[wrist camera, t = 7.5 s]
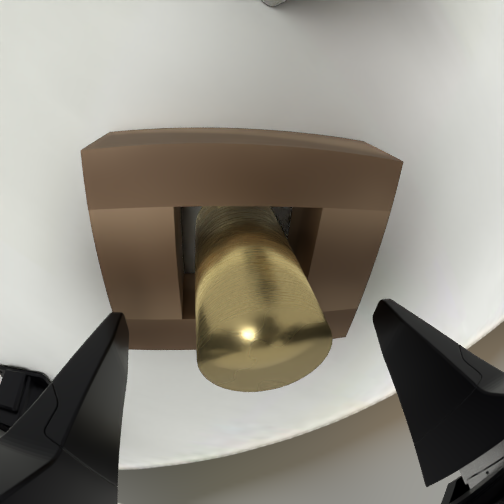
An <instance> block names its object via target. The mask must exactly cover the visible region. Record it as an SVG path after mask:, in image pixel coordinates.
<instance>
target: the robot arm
mask: <svg viewBox="0 0 504 504" xmlns="http://www.w3.org/2000/svg"><path fill="white" fill-rule="evenodd" d="M373 323H374V327H375V330H376V333H377V337H378V340H379V344H380V347H381V351H382V354H383V357H384V360H385V362H386V365H387V367H388V370H389V373H390V375H391V378H392V381H393V383H394V386H395V389H396V392H397V394H398V397H399V400H400V403H401V406H402V409H403V412H404V415H405V417H406V420H407V424H408V426H409V430H410V433H411V436H412V439H413V442H414V446H415V449H416V453H417V456H418V460H419V463H420V467H421V470H422V474H423V478H424V482H425V485H426V487H428V486H430V485H432V484H434V483H436V482H438V481H440V480H442V479H444V478H445V477H447V476H449V475H451V474H453V473H454V472H456V471H458V470H459V471H460V473H461V476H460V477H458V478H457V479H456V480H454V481H452V482H451V483H449V484H448V486H447V489H446V492H445V495H444V497H443V500H442V503H441V504H504V372H502V371H501V370H499V369H497V368H496V367H494V366H492V365H490V364H489V363H487V362H485V361H484V360H482V359H480V358H479V357H477V356H475V355H474V354H472V353H471V352H469V351H468V350H466V349H465V348H464V347H462V346H461V345H458V343H456V342H455V341H453V340H452V339H450V338H449V337H447V336H446V335H444V334H443V333H441V332H440V331H439V330H437V329H436V328H434V327H433V326H431V325H430V324H428V323H427V322H425V321H423V320H422V319H420V318H419V317H417V316H416V315H414V314H413V313H411V312H410V311H408V310H407V309H405V308H404V307H402V306H401V305H399V304H397V303H396V302H394V301H393V300H391V299H382V300H380V301H379V303H378V305H377V307H376V310H375V312H374V314H373ZM128 349H129V329H128V326H127V322H126V319H125V315H124V314H123V313H122V312H112V313H110V314H109V315H108V316H107V317H106V319H105V320H104V321H103V322H102V323H101V324H100V325H99V326H98V328H97V329H96V330H95V331H94V332H93V333H92V334H91V336H90V337H89V338H88V339H87V340H86V341H85V342H84V344H83V345H82V346H81V347H80V348H79V349H78V351H77V352H76V353H75V354H74V355H73V356H72V358H71V359H70V360H69V361H68V362H67V364H66V365H65V366H64V367H63V368H62V370H61V371H60V372H59V373H58V375H57V376H56V377H55V378H54V379H53V381H52V383H50V382H49V380H48V379H47V378H46V376H44V375H43V374H40V373H34V372H29V371H23V370H18V369H14V368H9V367H4V366H0V375H1V376H2V377H3V378H2V381H1V384H0V504H117V491H118V489H117V488H118V487H117V486H118V464H119V448H120V436H121V425H122V416H123V407H124V399H125V391H126V384H127V374H128Z"/></svg>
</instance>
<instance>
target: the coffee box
mask: <svg viewBox="0 0 504 504" xmlns="http://www.w3.org/2000/svg"><path fill="white" fill-rule="evenodd" d="M262 1H263V2H264V3H265V4H267V5H269V6H276V5H279V4H280V3H282V2H284V1H286V0H262Z"/></svg>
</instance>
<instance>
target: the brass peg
mask: <svg viewBox="0 0 504 504" xmlns="http://www.w3.org/2000/svg"><path fill="white" fill-rule="evenodd" d="M195 313H196V347H197V363H198V367H199V369H200V372H201V373H202V374H203V376H204V377H205V378H206V379H208V380H209V381H210V382H212V383H213V384H215V385H217V386H220V387H222V388H225V389H229V390H234V391H241V392H258V391H266V390H272V389H276V388H280V387H283V386H286V385H289V384H291V383H293V382H296V381H298V380H299V379H301V378H303V377H305V376H306V375H308V374H309V373H311V372H312V371H313V370H315V369H316V368H317V367H318V366H319V365H320V364H321V363H322V362H323V361H324V359H325V358H326V356H327V355H328V353H329V351H330V348H331V345H332V332H331V329H330V327H329V325H328V323H327V320H326V318H325V316H324V314H323V312H322V310H321V308H320V306H319V303H318V301H317V299H316V297H315V295H314V293H313V291H312V289H311V287H310V285H309V283H308V281H307V279H306V277H305V274H304V272H303V270H302V268H301V266H300V264H299V262H298V260H297V258H296V256H295V254H294V252H293V250H292V248H291V246H290V244H289V242H288V240H287V238H286V236H285V234H284V232H283V230H282V228H281V226H280V225H279V223H278V221H277V219H276V217H275V215H274V213H273V211H272V209H271V207H270V206H202V208H201V209H200V211H199V213H198V216H197V219H196V228H195Z"/></svg>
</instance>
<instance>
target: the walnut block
mask: <svg viewBox="0 0 504 504" xmlns="http://www.w3.org/2000/svg"><path fill="white" fill-rule="evenodd" d="M81 158H82V168H83V176H84V184H85V191H86V198H87V204H88V210H89V216H90V222H91V227H92V232H93V237H94V242H95V247H96V251H97V256H98V260H99V264H100V268H101V272H102V276H103V280H104V284H105V287H106V291H107V295H108V298H109V302H110V305H111V308H112V312H122V313H123V314H124V315H125V319H126V322H127V326H128V329H129V349H137V350H197V347H196V313H195V273H184V263H183V246H182V224H181V207H184V206H270V207H293V208H292V214H291V221H290V227H289V234H288V242H289V244H290V246H291V248H292V250H293V252H294V254H295V256H296V258H297V260H298V262H299V264H300V266H301V268H302V270H303V272H304V274H305V277H306V279H307V281H308V283H309V285H310V287H311V289H312V291H313V293H314V295H315V297H316V299H317V301H318V303H319V306H320V308H321V310H322V312H323V314H324V316H325V318H326V320H327V323H328V325H329V327H330V329H331V332H332V339H335V338H342V337H346V335H347V332H348V330H349V328H350V325H351V323H352V321H353V318H354V316H355V313H356V311H357V308H358V306H359V303H360V301H361V298H362V296H363V293H364V290H365V288H366V285H367V282H368V279H369V277H370V274H371V271H372V268H373V265H374V263H375V260H376V257H377V254H378V251H379V248H380V245H381V242H382V238H383V235H384V232H385V229H386V225H387V222H388V219H389V215H390V212H391V208H392V205H393V201H394V197H395V194H396V190H397V186H398V182H399V178H400V174H401V170H402V165H403V161H401V160H399V159H397V158H396V157H394V156H392V155H390V154H388V153H386V152H384V151H382V150H380V149H378V148H376V147H374V146H372V145H370V144H368V143H366V142H364V141H359V140H353V139H346V138H339V137H332V136H325V135H317V134H308V133H298V132H288V131H276V130H261V129H242V128H161V129H142V130H128V131H117V132H109V133H108V134H106V135H104V136H103V137H101V138H99V139H98V140H96V141H95V142H93V143H91V144H90V145H88V146H87V147H85V148H84V149H82V150H81Z"/></svg>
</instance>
